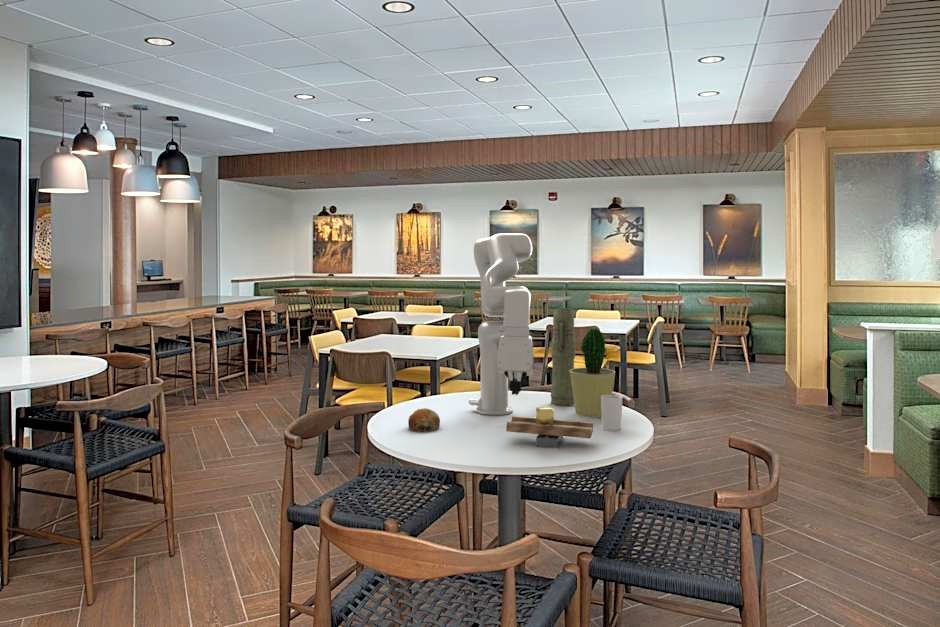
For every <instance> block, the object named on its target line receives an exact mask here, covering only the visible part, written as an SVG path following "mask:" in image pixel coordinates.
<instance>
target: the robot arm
mask: <svg viewBox="0 0 940 627" xmlns="http://www.w3.org/2000/svg"><path fill="white" fill-rule="evenodd" d="M532 253H533V243H532V241H531V239H530V236H528V235H527V234H525V233H496V234H494V235H492V236H490V237H484V238H480V239H477V240H476V241H475V243H474V245H473V259H474V263H475V266H476V268H477V271H478V274H479V277H480V278H479V279H480V300H481V301H480V302H481V303H480V304H481V311H482V313H483V315H484V316H485V317H489V318H503V320H488V321H484V322H482V323H480V325H479V326H478V329H477V338H478V344H479V355H480V398H477V399H475V398H469V399H468V405H470V406H477V407H476V408H475V412H476V413H478V414H480V415H487V416H504V415H509V414H511V413H513V407H511V406H510V405H509V391H510V392H511V395H516V396H518V395H519V394H520V392H521V391H522V380H523V379H524V378H525V377H527V376H528V377H529V376H533V375H534V374H535V370H534V365H535V355H534V353H535V352H534V345H533V338H532V336H531V335H530V325H531V324H530V322H531V320H530V318H531V316H530V314H531V313H530V312H531V311H530V310H531V309H530V308H531V302H532V300H531V299H532V295H531V291H529V289H528V288H527V287H526V286H518V285H517V286H515V285H513V286H510V285H507V286H506V281H508V280H511V279H512V278H514V277H515V276H516V275H517V273H518V271H519V263H523V262H525V261H528V260H529V259H530V258H531V255H532ZM515 372H517V376H516V377H515Z"/></svg>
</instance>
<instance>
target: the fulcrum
mask: <svg viewBox="0 0 940 627" xmlns="http://www.w3.org/2000/svg"><path fill="white" fill-rule="evenodd" d="M563 439H564V436H553V435H541V434H537V436H536V440H535V443H536V444H535V447H537V448H551V449H558V448H559V446H560V445H561V443H562V441H563Z"/></svg>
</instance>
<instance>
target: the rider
mask: <svg viewBox="0 0 940 627" xmlns="http://www.w3.org/2000/svg"><path fill="white" fill-rule="evenodd" d="M535 410H536V411H535V413H536V414H535V418H536V424H542V425H547V424H550V425H553V421H554V420H555V419H554V414H555V412H554V411H555V410H554V407H551V406H538V407H536V409H535Z"/></svg>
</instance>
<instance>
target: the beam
mask: <svg viewBox="0 0 940 627" xmlns="http://www.w3.org/2000/svg"><path fill="white" fill-rule="evenodd" d="M505 426H506V428H505V431H506V432H507V433H508V432H510V433H517V434H518V433H519V434H520V433H521V434H530V435H531V434H532V435H539V434H541V435H553V436H563V437H567V438H579V439H590V440H591V438H592V435H593V434H594V429H595V428H594V422H589V421H576V420H566V419H565V420H562V419H554V421H553V425H550V424H547V425H542V424H536V417H525V416H511V420H510V421H506V425H505Z"/></svg>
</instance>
